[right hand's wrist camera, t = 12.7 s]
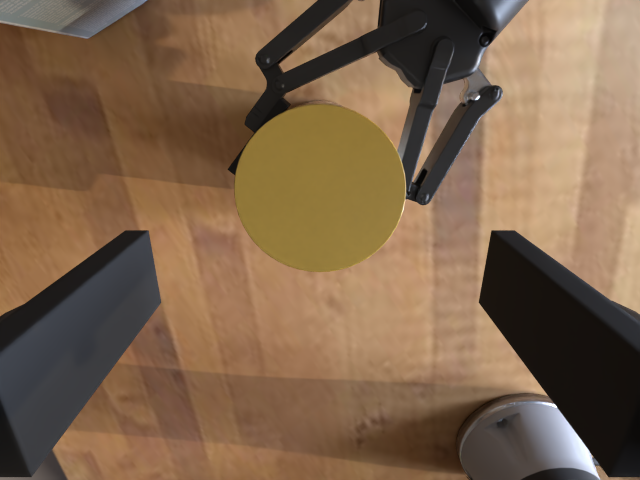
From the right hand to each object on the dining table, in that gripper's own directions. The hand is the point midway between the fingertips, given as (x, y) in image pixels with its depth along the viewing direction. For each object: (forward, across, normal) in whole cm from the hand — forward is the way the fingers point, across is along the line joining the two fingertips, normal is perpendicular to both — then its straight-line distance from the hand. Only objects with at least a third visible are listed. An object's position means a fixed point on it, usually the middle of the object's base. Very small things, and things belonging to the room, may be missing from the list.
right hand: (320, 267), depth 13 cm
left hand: (+18, -3, -3) cm, 19 cm away
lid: (+10, 0, 0) cm, 10 cm away
